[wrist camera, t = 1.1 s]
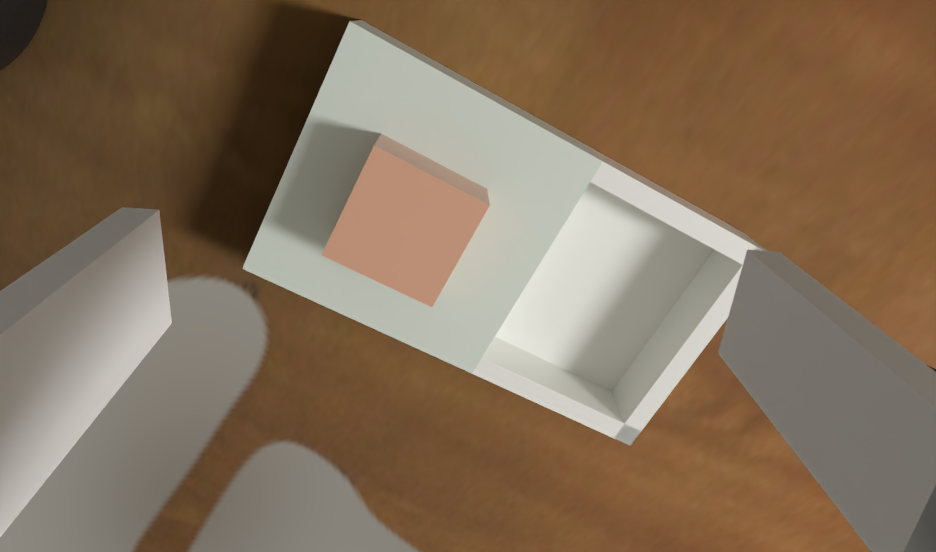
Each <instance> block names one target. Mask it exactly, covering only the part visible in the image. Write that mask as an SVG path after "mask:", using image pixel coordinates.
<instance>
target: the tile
mask: <svg viewBox="0 0 936 552" xmlns="http://www.w3.org/2000/svg"><path fill="white" fill-rule="evenodd" d="M489 206H490V203H489V197H488V191H487V189H486V188H484V187H482V186H481V185H479V184H477V183H475V182H473V181H471V180H469V179H467V178H465V177H463V176H461V175H460V174H458V173H456V172H454V171H452V170H450V169H448V168H446V167H444V166H442V165H440V164H438V163H437V162H435V161H433V160H431V159H429V158H427V157H425V156H423V155H421V154H419V153H417V152H415V151H414V150H412V149H410V148H408V147H406V146H404V145H402V144H400V143H398V142H396V141H394V140H393V139H391V138H389V137H387V136H385V135H383V134H381V135H380V136H379V138H378V140H377V141H376V143H375V144H374V146H373V148H372V150H371V153H370V155H369V157H368V159H367V161H366V163H365V165H364V167H363V169H362V171H361V173H360V175H359V178H358V180H357V182H356V184H355V186H354V188H353V190H352V192H351V194H350V196H349V198H348V200H347V203H346V205H345V207H344V209H343V211H342V213H341V215H340V217H339V219H338V221H337V223H336V226H335V228H334V230H333V232H332V234H331V236H330V238H329V240H328V242H327V244H326V246H325V248H324V251H323V253H322V256H324V257H326V258H328V259H331V260H333V261H335V262H337V263H339V264H341V265H343V266H345V267H347V268H350V269H352V270H354V271H356V272H358V273H360V274H362V275H364V276H367V277H369V278H371V279H373V280H375V281H377V282H379V283H381V284H383V285H386V286H388V287H390V288H392V289H394V290H396V291H398V292H400V293H403V294H405V295H407V296H409V297H411V298H413V299H415V300H417V301H419V302H422V303H424V304H426V305H428V306H430V307H433V305H434V303H435V301H436V300H437V298H438V296H439V294H440V293H441V291H442V289H443V287H444V286H445V284H446V282H447V280H448V279H449V277H450V275H451V273H452V271H453V270H454V268H455V266H456V264H457V263H458V261H459V259H460V257H461V256H462V254H463V252H464V250H465V248H466V247H467V245H468V243H469V241H470V240H471V238H472V236H473V234H474V233H475V231H476V229H477V227H478V226H479V224H480V222H481V220H482V218H483V217H484V215H485V213H486V211H487V210H488V208H489Z"/></svg>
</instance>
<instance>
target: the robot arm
mask: <svg viewBox="0 0 936 552" xmlns="http://www.w3.org/2000/svg"><path fill="white" fill-rule="evenodd" d="M46 3H47V0H0V70H2V69H3V68H4V67H6V66H7V65H9V64H10V63H11V62H12V61H13V60H14V59H16V58H17V57H18V55H19V54H20V53H21V52H22V51H23V50H24V49H25V47H26V46H27V45H28V44H29V42H30V41H31V39H32V37H33V36H34V34H35V32H36V30H37V28H38V26H39V24H40V22H41V19H42V17H43V14H44V10H45V7H46ZM171 323H172V320H171V312H170V303H169V294H168V285H167V276H166V267H165V258H164V249H163V240H162V231H161V222H160V213H159V210H154V209H139V208H124V207H122V208H121V209H119V210H118V211H116V212H115V213H113V214H112V215H110V216H109V217H107V218H106V219H105V220H103V221H102V222H100V223H99V224H97V225H96V226H94V227H93V228H91V229H90V230H89V231H87V232H86V233H84V234H83V235H81V236H80V237H78V238H77V239H75V240H74V241H73V242H71V243H70V244H68V245H67V246H65V247H64V248H62V249H61V250H59V251H58V252H57V253H55V254H54V255H52V256H51V257H49V258H48V259H46V260H45V261H43V262H42V263H41V264H39V265H38V266H36V267H35V268H33V269H32V270H30V271H29V272H27V273H26V274H25V275H23V276H22V277H20V278H19V279H17V280H16V281H14V282H13V283H11V284H10V285H8V286H7V287H6V288H4V289H3V290H1V291H0V537H1V536H2V534H3V533H4V532H5V531H6V529H7V528H8V527H9V526H10V524H11V523H12V522H13V521H14V519H15V518H16V517H17V516H18V514H19V513H20V512H21V511H22V509H23V508H24V507H25V506H26V504H27V503H28V502H29V501H30V499H31V498H32V497H33V495H35V493H36V492H37V491H38V489H39V488H40V487H41V486H42V485H43V483H44V482H45V481H46V480H47V478H48V477H49V476H50V475H51V473H52V472H53V471H54V469H55V468H56V467H57V466H58V465H59V463H60V462H61V461H62V459H63V458H64V457H65V456H66V455H67V453H68V452H69V451H70V450H71V448H72V447H73V446H74V445H75V443H76V442H77V441H78V439H79V438H80V437H81V436H82V434H83V433H84V432H85V431H86V430H87V428H88V427H89V426H90V425H91V423H92V422H93V421H94V419H95V418H96V417H97V416H98V415H99V413H100V412H101V411H102V409H103V408H104V407H105V406H106V405H107V403H108V402H109V401H110V400H111V398H112V397H113V396H114V395H115V393H116V392H117V391H118V389H119V388H120V387H121V386H122V385H123V383H124V382H125V381H126V379H127V378H128V377H129V376H130V375H131V373H132V372H133V371H134V370H135V368H136V367H137V366H138V365H139V363H140V362H141V361H142V359H143V358H144V357H145V356H146V355H147V353H148V352H149V351H150V350H151V348H152V347H153V346H154V344H155V343H156V342H157V341H158V340H159V338H160V337H161V336H162V335H163V333H164V332H165V331H166V329H167V328H168V327H169V326H170V324H171ZM718 354H719V355H720V356H721V358H722V359H723V360H724V361H725V363H726V364H727V365H728V367H729V368H730V369H731V371H732V372H733V373H734V374H735V376H736V377H737V378H738V380H739V381H740V382H741V384H742V385H743V386H744V387H745V389H746V390H747V391H748V393H749V394H750V395H751V396H752V398H753V399H754V400H755V402H756V403H757V404H758V406H759V407H760V408H761V409H762V411H763V412H764V413H765V415H766V416H767V417H768V418H769V420H770V421H771V422H772V424H773V425H774V426H775V428H776V429H777V430H778V431H779V433H780V434H781V435H782V437H783V438H784V439H785V440H786V442H787V443H788V444H789V446H790V447H791V448H792V450H793V451H794V452H795V453H796V455H797V456H798V457H799V459H800V460H801V461H802V463H803V464H804V465H805V466H806V468H807V469H808V470H809V472H810V473H811V474H812V475H813V477H814V478H815V479H816V481H817V482H818V483H819V485H820V486H821V487H822V488H823V490H824V491H825V492H826V494H827V495H828V496H829V497H830V499H831V500H832V501H833V503H834V504H835V505H836V507H837V508H838V509H839V510H840V512H841V513H842V514H843V516H844V517H845V518H846V520H847V521H848V522H849V523H850V525H851V526H852V527H853V529H854V530H855V531H856V532H857V534H858V535H859V536H860V538H861V539H862V540H863V542H864V543H865V544H866V545H867V547H868V548H869V549H870V551H871V552H936V369H934V368H932V367H930V366H928V365H926V364H925V363H924V362H922V361H921V360H920V359H918V358H917V357H916V356H914V355H913V354H912V353H911V352H909V351H908V350H907V349H905V348H904V347H903V346H901V345H900V344H899V343H897V342H896V341H895V340H894V339H892V338H891V337H890V336H888V335H887V334H886V333H884V332H883V331H882V330H880V329H879V328H878V327H877V326H875V325H874V324H873V323H871V322H870V321H869V320H867V319H866V318H865V317H864V316H862V315H861V314H860V313H858V312H857V311H856V310H854V309H853V308H852V307H850V306H849V305H848V304H847V303H845V302H844V301H843V300H841V299H840V298H839V297H837V296H836V295H835V294H834V293H832V292H831V291H830V290H828V289H827V288H826V287H824V286H823V285H822V284H820V283H819V282H818V281H817V280H815V279H814V278H813V277H811V276H810V275H809V274H807V273H806V272H805V271H803V270H802V269H801V268H800V267H798V266H797V265H796V264H794V263H793V262H792V261H790V260H789V259H788V258H787V257H785V256H784V255H783V254H781V253H780V252H774V251H760V250H747V252H746V256H745V259H744V263H743V266H742V270H741V273H740V277H739V280H738V284H737V288H736V291H735V295H734V298H733V302H732V305H731V309H730V312H729V316H728V319H727V323H726V327H725V330H724V334H723V337H722V341H721V344H720V348H719V351H718Z"/></svg>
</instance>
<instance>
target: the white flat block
mask: <svg viewBox="0 0 936 552" xmlns="http://www.w3.org/2000/svg"><path fill="white" fill-rule="evenodd" d="M381 134H383V135H385V136H387V137H389V138H391V139H393V140H394V141H396V142H398V143H400V144H402V145H404V146H406V147H408V148H410V149H412V150H414V151H415V152H417V153H419V154H421V155H423V156H425V157H427V158H429V159H431V160H433V161H435V162H437V163H438V164H440V165H442V166H444V167H446V168H448V169H450V170H452V171H454V172H456V173H458V174H460V175H461V176H463V177H465V178H467V179H469V180H471V181H473V182H475V183H477V184H479V185H481V186H482V187H484V188H486V189H487V191H488V197H489V203H490V206H489V208H488V210H487V211H486V213H485V215H484V217H483V218H482V220H481V222H480V224H479V226H478V227H477V229H476V231H475V233H474V234H473V236H472V238H471V240H470V241H469V243H468V245H467V247H466V248H465V250H464V252H463V254H462V256H461V257H460V259H459V261H458V263H457V264H456V266H455V268H454V270H453V271H452V273H451V275H450V277H449V279H448V280H447V282H446V284H445V286H444V287H443V289H442V291H441V293H440V294H439V296H438V298H437V300H436V301H435V303H434V305H433V307H430V306H428V305H426V304H424V303H422V302H419V301H417V300H415V299H413V298H411V297H409V296H407V295H405V294H403V293H400V292H398V291H396V290H394V289H392V288H390V287H388V286H386V285H383V284H381V283H379V282H377V281H375V280H373V279H371V278H369V277H367V276H364V275H362V274H360V273H358V272H356V271H354V270H352V269H350V268H347V267H345V266H343V265H341V264H339V263H337V262H335V261H333V260H331V259H328V258H326V257H324V256H322V253H323V251H324V248H325V246H326V244H327V242H328V240H329V238H330V236H331V234H332V232H333V230H334V228H335V226H336V223H337V221H338V219H339V217H340V215H341V213H342V211H343V209H344V207H345V205H346V203H347V200H348V198H349V196H350V194H351V192H352V190H353V188H354V186H355V184H356V182H357V180H358V178H359V175H360V173H361V171H362V169H363V167H364V165H365V163H366V161H367V159H368V157H369V155H370V153H371V150H372V148H373V146H374V144H375V143H376V141H377V140H378V138H379V136H380V135H381ZM602 162H603V161H602V160H601V159H600V158H599V157H598V156H597V155H596V154H595V153H594V152H593V151H592V150H591V149H590V148H589V147H588V146H587V145H585V144H583V143H581V142H580V141H578V140H576V139H574V138H572V137H571V136H569V135H567V134H565V133H564V132H562V131H560V130H558V129H556V128H555V127H553V126H551V125H549V124H547V123H546V122H544V121H542V120H540V119H538V118H537V117H535V116H533V115H531V114H529V113H528V112H526V111H524V110H522V109H520V108H519V107H517V106H515V105H513V104H511V103H510V102H508V101H506V100H504V99H502V98H501V97H499V96H497V95H495V94H493V93H492V92H490V91H488V90H486V89H484V88H483V87H481V86H479V85H477V84H475V83H474V82H472V81H470V80H468V79H466V78H465V77H463V76H461V75H459V74H457V73H456V72H454V71H452V70H450V69H449V68H447V67H445V66H443V65H441V64H440V63H438V62H436V61H434V60H432V59H431V58H429V57H427V56H425V55H423V54H422V53H420V52H418V51H416V50H414V49H413V48H411V47H409V46H407V45H405V44H404V43H402V42H400V41H398V40H396V39H395V38H393V37H391V36H389V35H387V34H386V33H384V32H382V31H380V30H378V29H377V28H375V27H373V26H371V25H369V24H368V23H366V22H364V21H362V20H357V21H349V24H348V26H347V28H346V31H345V33H344V35H343V38H342V40H341V42H340V44H339V47H338V49H337V51H336V54H335V56H334V58H333V61H332V63H331V65H330V68H329V70H328V72H327V74H326V77H325V79H324V81H323V84H322V86H321V88H320V91H319V93H318V95H317V98H316V100H315V102H314V104H313V107H312V109H311V111H310V114H309V116H308V118H307V121H306V123H305V125H304V127H303V130H302V132H301V134H300V137H299V139H298V141H297V144H296V146H295V148H294V151H293V153H292V155H291V157H290V160H289V162H288V164H287V167H286V169H285V171H284V174H283V176H282V178H281V180H280V183H279V185H278V187H277V190H276V192H275V194H274V197H273V199H272V201H271V204H270V206H269V208H268V210H267V213H266V215H265V217H264V220H263V222H262V224H261V227H260V229H259V231H258V233H257V236H256V238H255V240H254V243H253V245H252V247H251V250H250V252H249V254H248V257H247V259H246V261H245V263H244V266H243V268H242V269H244V270H246V271H248V272H251V273H253V274H255V275H257V276H259V277H261V278H264V279H266V280H268V281H270V282H272V283H275V284H277V285H279V286H281V287H283V288H286V289H288V290H290V291H292V292H294V293H297V294H299V295H301V296H303V297H305V298H307V299H310V300H312V301H314V302H316V303H318V304H321V305H323V306H325V307H327V308H329V309H332V310H334V311H336V312H338V313H340V314H343V315H345V316H347V317H349V318H351V319H354V320H356V321H358V322H360V323H362V324H364V325H367V326H369V327H371V328H373V329H375V330H378V331H380V332H382V333H384V334H386V335H389V336H391V337H393V338H395V339H397V340H400V341H402V342H404V343H406V344H408V345H410V346H413V347H415V348H417V349H419V350H421V351H424V352H426V353H428V354H430V355H432V356H435V357H437V358H439V359H441V360H443V361H446V362H448V363H450V364H452V365H454V366H456V367H459V368H461V369H463V370H465V371H467V372H470V373H473V371H474V369H475V368H476V366H477V365H478V363H479V361H480V360H481V358H482V356H483V355H484V353H485V352H486V350H487V348H488V347H489V345H490V343H491V342H492V340H493V339H494V337H495V335H496V334H497V332H498V331H499V329H500V327H501V326H502V324H503V322H504V321H505V319H506V318H507V316H508V314H509V313H510V311H511V310H512V308H513V306H514V305H515V303H516V301H517V300H518V298H519V297H520V295H521V293H522V292H523V290H524V288H525V287H526V285H527V284H528V282H529V280H530V279H531V277H532V276H533V274H534V272H535V271H536V269H537V267H538V266H539V264H540V263H541V261H542V259H543V258H544V256H545V254H546V253H547V251H548V250H549V248H550V246H551V245H552V243H553V242H554V240H555V238H556V237H557V235H558V233H559V232H560V230H561V229H562V227H563V225H564V224H565V222H566V220H567V219H568V217H569V216H570V214H571V212H572V211H573V209H574V208H575V206H576V204H577V203H578V201H579V199H580V198H581V196H582V195H583V193H584V191H585V190H586V188H587V187H588V185H589V183H590V182H591V180H592V178H593V177H594V175H595V174H596V172H597V170H598V169H599V167H600V165H601V164H602Z"/></svg>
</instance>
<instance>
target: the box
mask: <svg viewBox="0 0 936 552" xmlns="http://www.w3.org/2000/svg"><path fill="white" fill-rule="evenodd" d="M588 147H589V146H588ZM589 148H590V147H589ZM590 149H591V150H592V151H593V152H594V153H595V154H596V155H597V156H598V157H599V158H600V159H601V160H602V161H603V162H602V164H601V165H600V167H599V169H598V170H597V172H596V174H595V175H594V177H593V178H592V180H591V182H590V183H589V185H588V187H587V188H586V190H585V191H584V193H583V195H582V196H581V198H580V199H579V201H578V203H577V204H576V206H575V208H574V209H573V211H572V212H571V214H570V216H569V217H568V219H567V220H566V222H565V224H564V225H563V227H562V229H561V230H560V232H559V233H558V235H557V237H556V238H555V240H554V242H553V243H552V245H551V246H550V248H549V250H548V251H547V253H546V254H545V256H544V258H543V259H542V261H541V263H540V264H539V266H538V267H537V269H536V271H535V272H534V274H533V276H532V277H531V279H530V280H529V282H528V284H527V285H526V287H525V288H524V290H523V292H522V293H521V295H520V297H519V298H518V300H517V301H516V303H515V305H514V306H513V308H512V310H511V311H510V313H509V314H508V316H507V318H506V319H505V321H504V322H503V324H502V326H501V327H500V329H499V331H498V332H497V334H496V335H495V337H494V339H493V340H492V342H491V343H490V345H489V347H488V348H487V350H486V352H485V353H484V355H483V356H482V358H481V360H480V361H479V363H478V365H477V366H476V368H475V369H474V371H473V373H472V374H474V375H476V376H478V377H481V378H483V379H485V380H487V381H489V382H492V383H494V384H496V385H498V386H500V387H503V388H505V389H507V390H509V391H511V392H513V393H516V394H518V395H520V396H522V397H524V398H527V399H529V400H531V401H533V402H535V403H538V404H540V405H542V406H544V407H546V408H549V409H551V410H553V411H555V412H557V413H559V414H562V415H564V416H566V417H568V418H570V419H573V420H575V421H577V422H579V423H581V424H584V425H586V426H588V427H590V428H592V429H595V430H597V431H599V432H601V433H603V434H606V435H608V436H610V437H612V438H614V439H616V440H619V441H621V442H623V443H625V444H627V445H631V444H632V443H633V441H634V440H635V439H636V437H637V436H638V435H639V433H640V432H641V431H642V430H643V428H644V427H645V426H646V424H647V423H648V422H649V420H650V419H651V418H652V416H653V415H654V414H655V412H656V411H657V410H658V408H659V407H660V406H661V405H662V403H663V402H664V401H665V399H666V398H667V397H668V395H669V394H670V393H671V391H672V390H673V389H674V387H675V386H676V385H677V384H678V382H679V381H680V380H681V378H682V377H683V376H684V374H685V373H686V372H687V370H688V369H689V368H690V366H691V365H692V364H693V362H694V361H695V360H696V359H697V357H698V356H699V355H700V353H701V352H702V351H703V349H704V348H705V347H706V345H707V344H708V343H709V341H710V340H711V339H712V337H713V336H714V335H715V334H716V332H717V331H718V330H719V328H720V327H721V326H722V324H723V323H724V322H725V320H726V319H727V318H728V316H729V312H730V309H731V305H732V302H733V298H734V295H735V291H736V288H737V284H738V280H739V277H740V273H741V270H742V266H743V263H744V259H745V256H746V252H747V250H760V251H767V250H765V249H764V248H763V247H761V246H760V245H759V244H758V243H756V242H755V241H754V240H752V239H751V238H750V237H748V236H747V235H746V234H745V233H743V232H741V231H740V230H738V229H736V228H734V227H732V226H731V225H729V224H727V223H725V222H723V221H722V220H720V219H718V218H716V217H714V216H713V215H711V214H709V213H707V212H705V211H704V210H702V209H700V208H698V207H696V206H695V205H693V204H691V203H689V202H687V201H686V200H684V199H682V198H680V197H679V196H677V195H675V194H673V193H671V192H670V191H668V190H666V189H664V188H662V187H661V186H659V185H657V184H655V183H653V182H652V181H650V180H648V179H646V178H644V177H643V176H641V175H639V174H637V173H635V172H634V171H632V170H630V169H628V168H626V167H625V166H623V165H621V164H619V163H617V162H616V161H614V160H612V159H610V158H608V157H607V156H605V155H603V154H601V153H599V152H598V151H596V150H594V149H592V148H590Z"/></svg>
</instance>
